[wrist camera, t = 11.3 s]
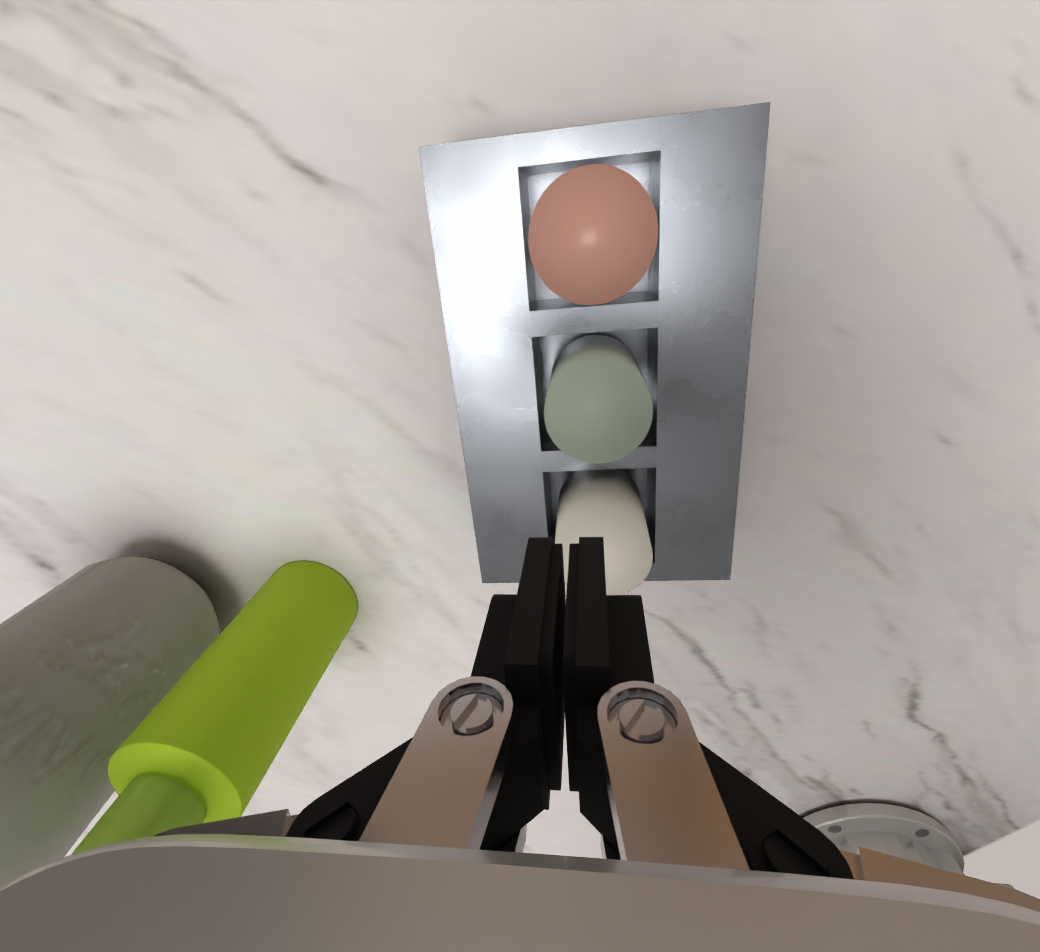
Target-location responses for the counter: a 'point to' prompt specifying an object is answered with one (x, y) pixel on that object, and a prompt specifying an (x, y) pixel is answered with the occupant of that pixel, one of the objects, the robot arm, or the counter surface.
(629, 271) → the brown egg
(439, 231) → the gray socket block
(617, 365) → the green piece
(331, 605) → the soap dispenser
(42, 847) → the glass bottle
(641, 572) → the cream rounded cylinder
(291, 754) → the counter surface
